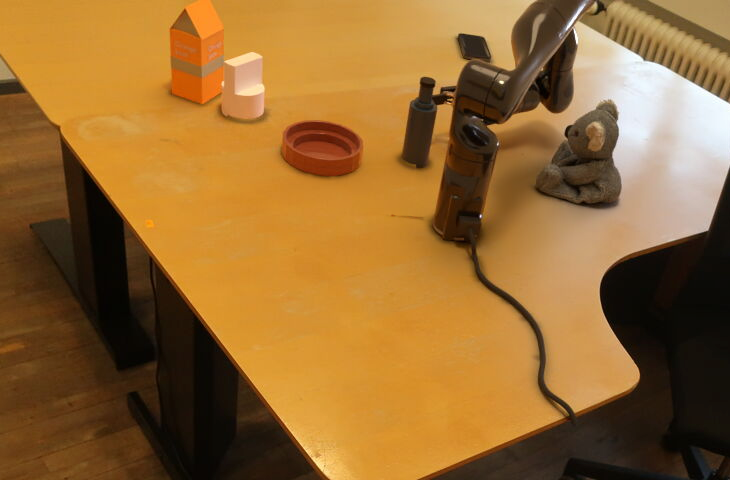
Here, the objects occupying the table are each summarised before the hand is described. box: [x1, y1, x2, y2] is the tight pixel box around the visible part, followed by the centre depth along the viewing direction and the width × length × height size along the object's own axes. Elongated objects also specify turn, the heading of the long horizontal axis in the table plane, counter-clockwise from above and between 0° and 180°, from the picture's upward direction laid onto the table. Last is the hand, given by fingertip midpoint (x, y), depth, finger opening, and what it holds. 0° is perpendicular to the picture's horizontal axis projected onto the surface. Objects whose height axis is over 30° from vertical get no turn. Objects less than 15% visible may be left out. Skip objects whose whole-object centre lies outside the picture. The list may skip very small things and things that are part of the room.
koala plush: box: [535, 98, 623, 204], centre depth 180 cm, size 17×18×20 cm
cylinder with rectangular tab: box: [221, 51, 266, 120], centre depth 180 cm, size 9×9×12 cm
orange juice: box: [169, 0, 225, 105], centre depth 180 cm, size 8×9×20 cm
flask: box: [401, 76, 438, 169], centre depth 176 cm, size 6×6×18 cm
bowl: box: [281, 119, 364, 177], centre depth 173 cm, size 16×16×4 cm
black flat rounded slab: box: [457, 32, 492, 63], centre depth 235 cm, size 8×1×15 cm
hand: (441, 110), depth 177 cm, fingers open, 8 cm apart
